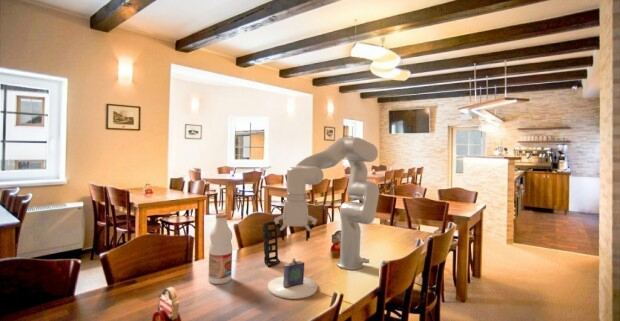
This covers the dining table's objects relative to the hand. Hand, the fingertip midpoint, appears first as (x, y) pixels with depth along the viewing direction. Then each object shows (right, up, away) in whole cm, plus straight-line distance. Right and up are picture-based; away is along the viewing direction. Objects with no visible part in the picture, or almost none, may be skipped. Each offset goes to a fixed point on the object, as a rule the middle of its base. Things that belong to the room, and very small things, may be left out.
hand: (295, 239), depth 133 cm
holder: (-13, -19, +28) cm, 36 cm away
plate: (-1, -20, 0) cm, 20 cm away
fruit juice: (-32, -19, +6) cm, 38 cm away
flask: (-1, -19, 0) cm, 19 cm away
